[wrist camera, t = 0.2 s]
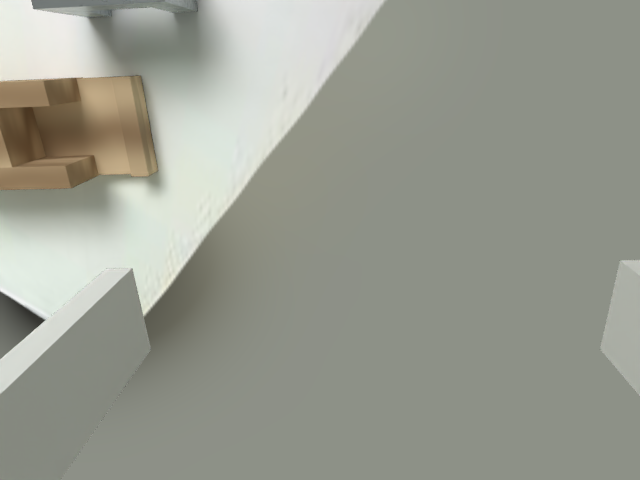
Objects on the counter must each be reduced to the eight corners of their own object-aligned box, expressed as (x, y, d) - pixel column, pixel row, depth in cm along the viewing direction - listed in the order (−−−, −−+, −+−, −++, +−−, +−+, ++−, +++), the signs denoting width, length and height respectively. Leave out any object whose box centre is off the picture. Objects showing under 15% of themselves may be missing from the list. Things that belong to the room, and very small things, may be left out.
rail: (-105, 85, 39) (-170, 89, 34) (140, 75, 37) (108, 77, 32) (-70, 177, 42) (-126, 192, 37) (158, 171, 40) (131, 186, 35)
